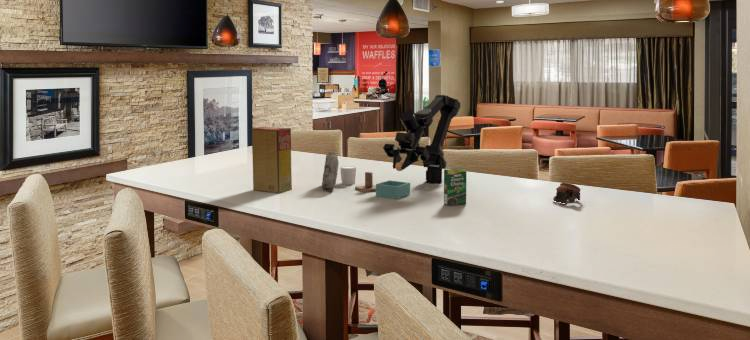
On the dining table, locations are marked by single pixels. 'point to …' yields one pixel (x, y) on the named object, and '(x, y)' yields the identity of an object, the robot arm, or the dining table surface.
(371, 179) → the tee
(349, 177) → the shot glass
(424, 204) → the dining table surface
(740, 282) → the dining table surface
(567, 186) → the dark brown lump
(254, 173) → the food packaging
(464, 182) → the coffee box
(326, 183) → the decorative rock
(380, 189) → the teal open-top box
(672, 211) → the dining table surface
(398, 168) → the ball
